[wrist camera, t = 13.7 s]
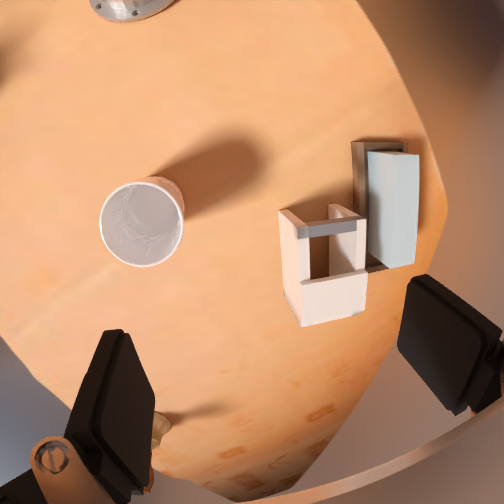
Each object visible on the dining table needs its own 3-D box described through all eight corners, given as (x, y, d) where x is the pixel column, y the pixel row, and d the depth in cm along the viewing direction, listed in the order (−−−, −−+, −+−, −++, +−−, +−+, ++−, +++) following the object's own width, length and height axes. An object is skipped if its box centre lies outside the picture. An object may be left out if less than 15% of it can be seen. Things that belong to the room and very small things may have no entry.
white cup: (200, 188, 35) (199, 205, 25) (172, 245, 37) (162, 280, 27) (141, 160, 32) (118, 166, 23) (116, 219, 34) (88, 245, 25)
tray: (351, 141, 35) (358, 142, 34) (399, 142, 36) (407, 142, 34) (352, 269, 42) (358, 275, 40) (396, 260, 43) (403, 265, 41)
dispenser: (278, 210, 37) (299, 230, 29) (336, 203, 38) (370, 220, 30) (284, 295, 41) (302, 331, 33) (336, 285, 42) (363, 316, 34)
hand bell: (140, 403, 45) (131, 478, 31) (179, 421, 48) (180, 494, 33) (121, 422, 47) (111, 490, 32) (157, 438, 49) (154, 505, 35)
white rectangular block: (367, 151, 35) (393, 154, 30) (391, 151, 36) (419, 154, 30) (367, 252, 40) (390, 268, 35) (390, 247, 41) (414, 263, 35)
